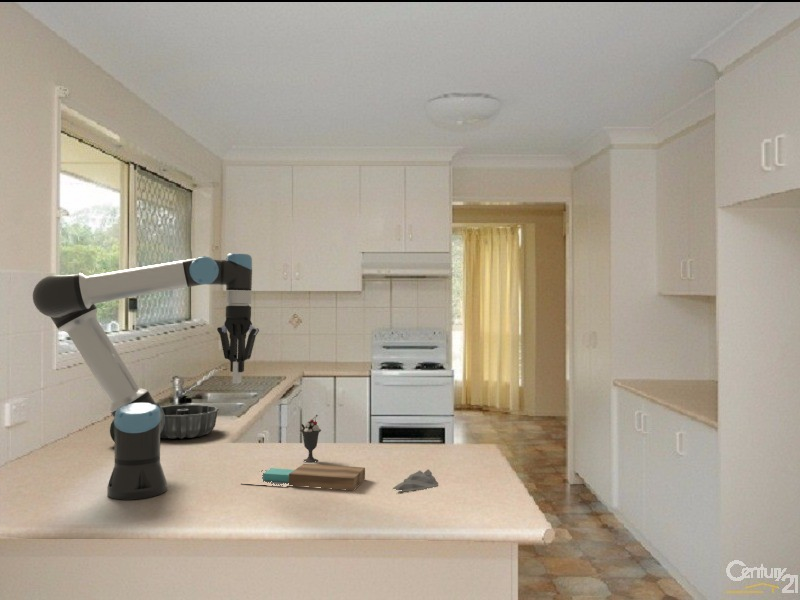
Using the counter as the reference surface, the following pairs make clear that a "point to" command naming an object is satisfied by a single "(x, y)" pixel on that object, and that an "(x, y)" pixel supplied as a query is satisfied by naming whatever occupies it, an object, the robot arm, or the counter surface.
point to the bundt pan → (188, 421)
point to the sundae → (310, 437)
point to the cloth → (417, 482)
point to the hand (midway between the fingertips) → (236, 382)
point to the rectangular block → (277, 475)
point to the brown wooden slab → (327, 476)
